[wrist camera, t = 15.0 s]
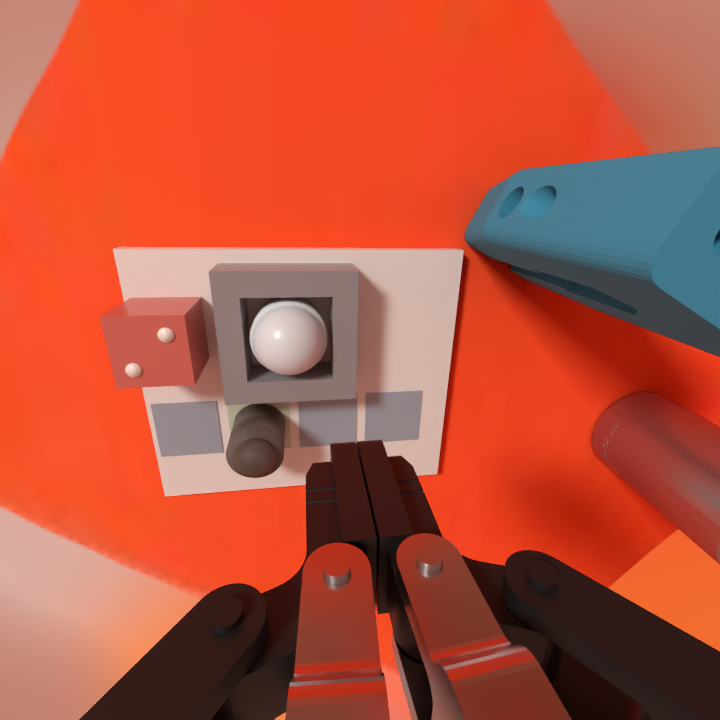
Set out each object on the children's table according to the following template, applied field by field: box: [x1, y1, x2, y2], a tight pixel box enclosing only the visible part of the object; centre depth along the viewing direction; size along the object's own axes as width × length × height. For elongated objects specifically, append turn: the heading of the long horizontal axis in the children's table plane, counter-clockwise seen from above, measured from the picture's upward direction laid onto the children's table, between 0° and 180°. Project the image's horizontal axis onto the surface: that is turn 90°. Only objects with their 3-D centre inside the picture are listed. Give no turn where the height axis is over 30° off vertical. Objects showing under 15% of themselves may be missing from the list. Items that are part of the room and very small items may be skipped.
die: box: [100, 297, 209, 389], centre depth 28 cm, size 5×5×5 cm
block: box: [465, 147, 720, 357], centre depth 24 cm, size 12×5×20 cm, turn 63°
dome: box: [250, 297, 327, 375], centre depth 29 cm, size 6×6×5 cm
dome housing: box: [209, 263, 359, 405], centre depth 30 cm, size 10×10×4 cm
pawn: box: [226, 403, 285, 478], centre depth 32 cm, size 4×4×6 cm
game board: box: [113, 247, 464, 496], centre depth 34 cm, size 26×22×1 cm
